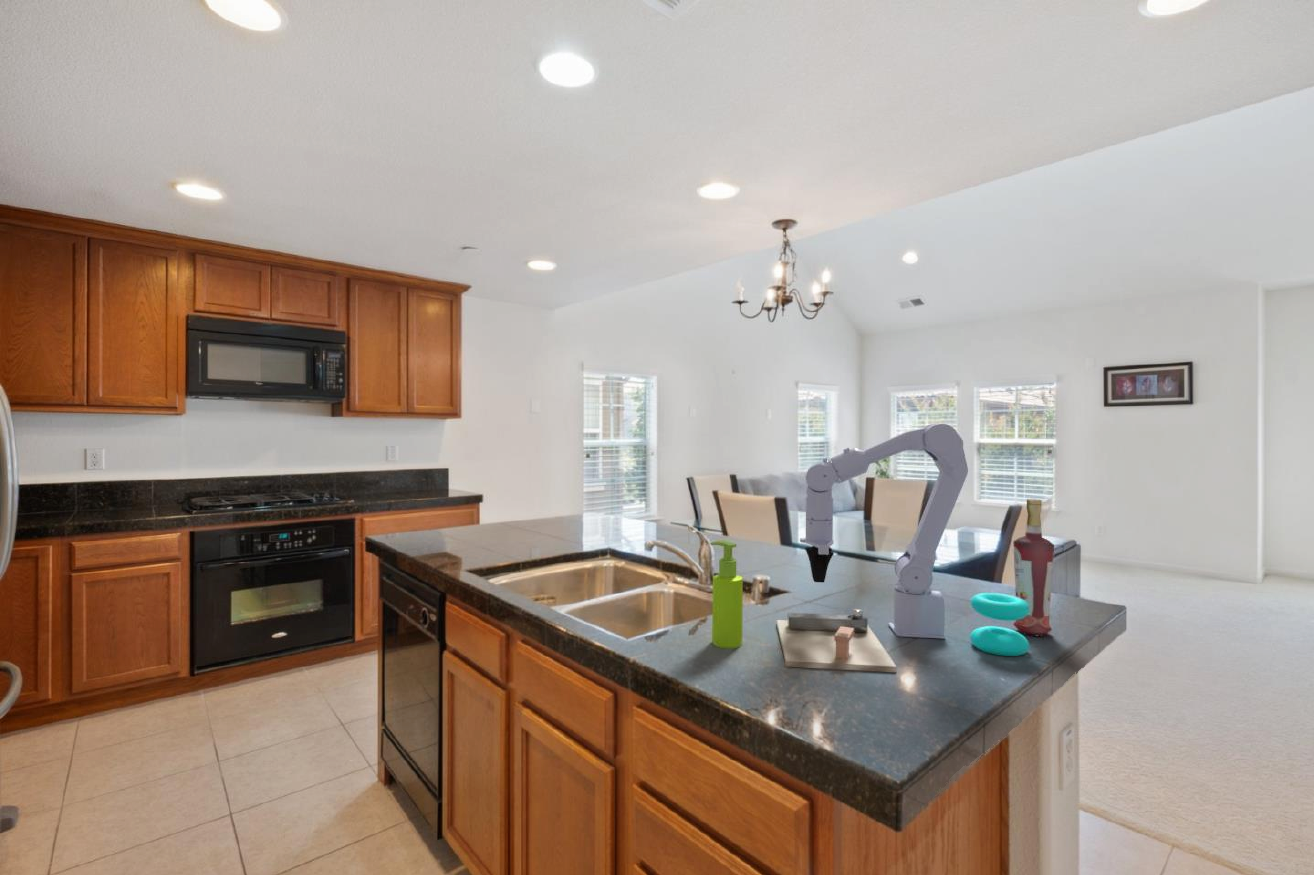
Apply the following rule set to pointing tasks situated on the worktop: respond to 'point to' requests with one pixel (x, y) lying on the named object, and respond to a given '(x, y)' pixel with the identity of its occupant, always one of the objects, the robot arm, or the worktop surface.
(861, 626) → the link
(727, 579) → the soap dispenser
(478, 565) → the worktop surface
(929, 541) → the robot arm
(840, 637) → the block
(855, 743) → the worktop surface
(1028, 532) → the liquor
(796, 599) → the worktop surface
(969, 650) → the worktop surface
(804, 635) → the hinge board
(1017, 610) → the donuts
